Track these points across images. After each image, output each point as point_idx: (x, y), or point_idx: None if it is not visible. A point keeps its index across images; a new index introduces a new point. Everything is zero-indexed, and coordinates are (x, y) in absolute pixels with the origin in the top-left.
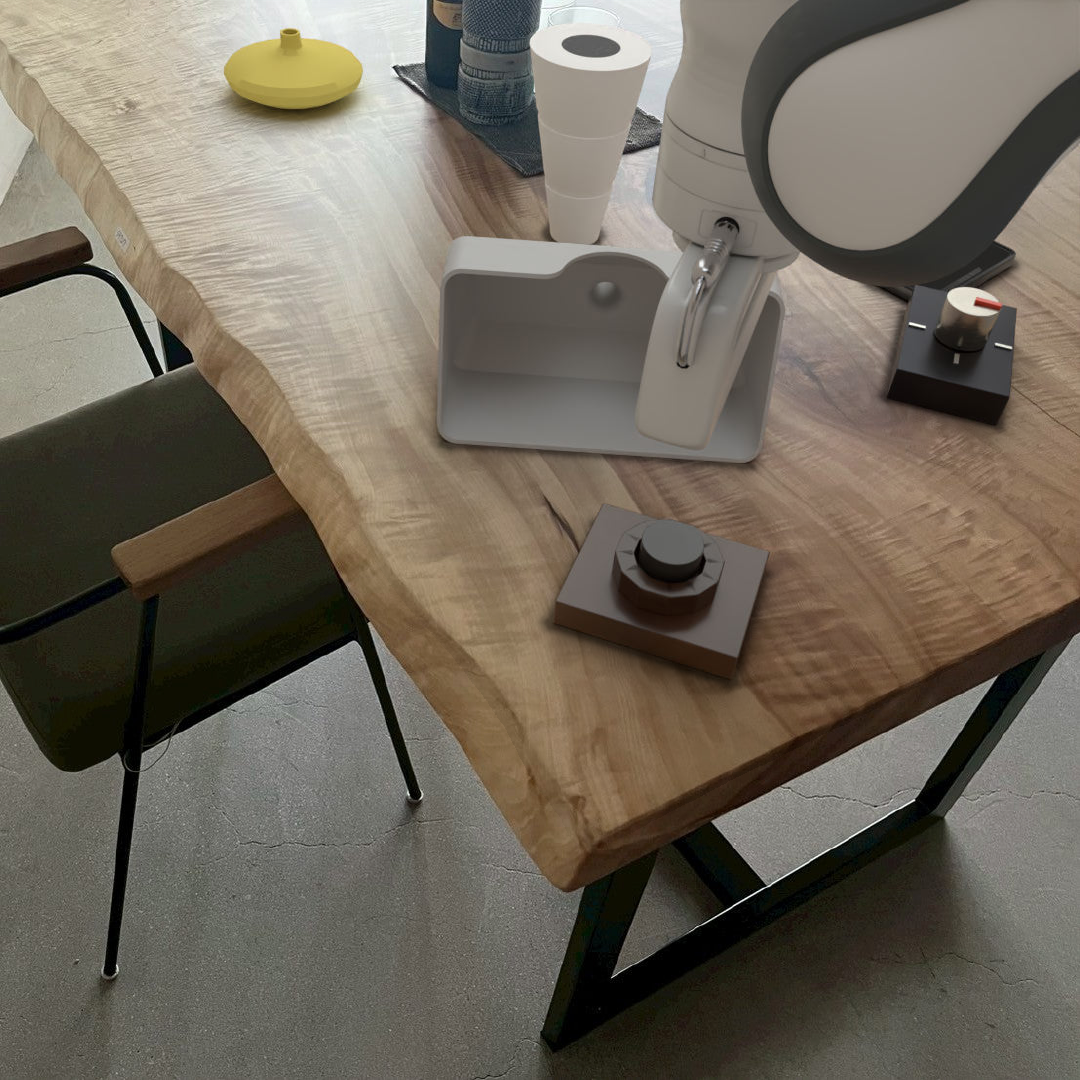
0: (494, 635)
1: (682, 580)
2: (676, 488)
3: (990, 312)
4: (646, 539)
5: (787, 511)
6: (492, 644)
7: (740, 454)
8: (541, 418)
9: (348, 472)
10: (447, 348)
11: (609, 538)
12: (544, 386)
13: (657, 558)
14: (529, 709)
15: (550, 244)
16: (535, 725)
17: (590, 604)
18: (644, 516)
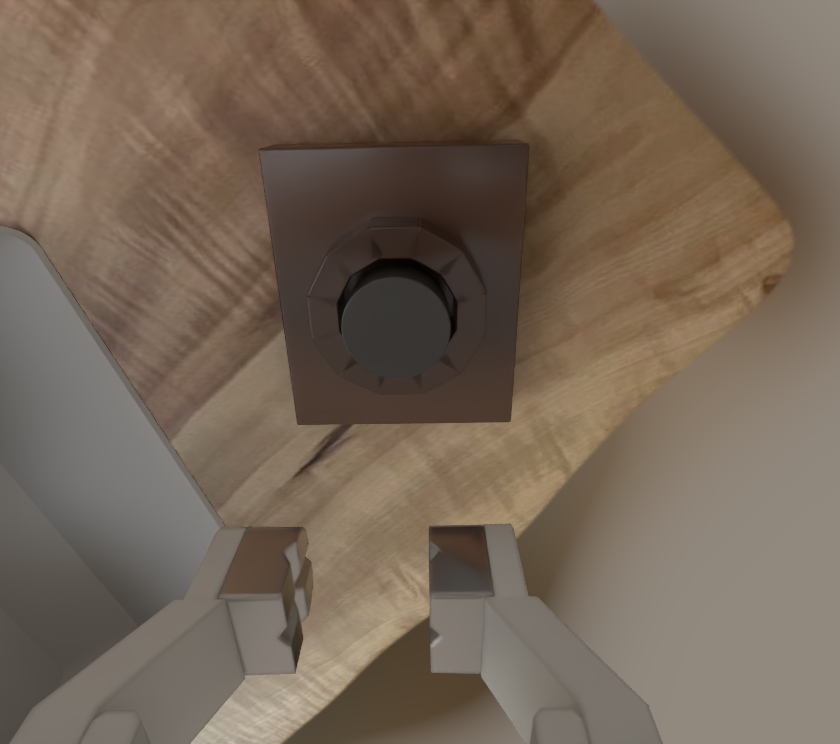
0: (546, 450)
1: (437, 283)
2: (169, 327)
3: None
4: (410, 370)
5: (101, 137)
6: (560, 447)
7: (24, 255)
8: (159, 527)
9: (371, 649)
10: None
11: (363, 396)
12: (95, 544)
13: (445, 342)
14: (646, 379)
15: None
16: (668, 365)
17: (500, 381)
18: (292, 365)
